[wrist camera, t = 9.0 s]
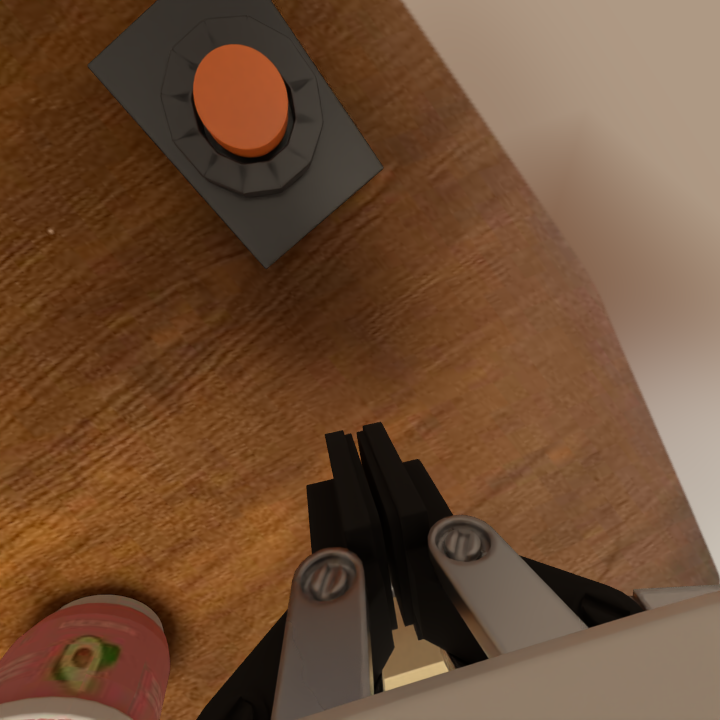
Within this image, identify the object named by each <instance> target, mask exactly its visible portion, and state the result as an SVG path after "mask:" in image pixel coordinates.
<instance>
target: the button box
mask: <svg viewBox="0 0 720 720" xmlns="http://www.w3.org/2000/svg"><path fill="white" fill-rule="evenodd" d="M229 44H239V45H245V46H248V47H251V48H253V49H255V50H257V51H259V52H260V53H262V54H263V55H264V56H266V57H267V58H268V59H269V60H270V61H271V62H272V63H273V64H274V66H275V67H276V68H277V70H278V71H279V73H280V75H281V77H282V79H283V81H284V84H285V87H286V91H287V96H288V123H287V128H286V132H285V134H284V137H283V139H282V140H281V142H280V143H279V145H278V146H277V147H276V148H275V149H274V150H272V151H271V152H269V153H268V154H266V155H263V156H260V157H255V158H247V157H241V156H237V155H235V154H233V153H231V152H229V151H227V150H226V149H224V148H223V147H222V146H221V145H219V144H218V143H217V141H216V140H215V139H214V138H213V136H212V135H211V134H210V132H209V131H208V130H207V128H206V127H205V125H204V124H203V122H202V120H201V119H200V117H199V115H198V112H197V109H196V106H195V102H194V97H193V83H194V77H195V74H196V71H197V68H198V66H199V64H200V63H201V61H202V60H203V58H204V57H205V56H206V55H207V54H208V53H210V52H211V51H212V50H214V49H216V48H218V47H221V46H223V45H229ZM88 68H89V69H90V70H91V71H92V72H93V73H94V75H95V76H96V77H97V78H98V79H99V80H100V81H101V82H102V84H103V85H104V86H105V87H106V88H107V89H108V90H109V92H110V93H111V94H112V95H113V96H114V97H115V98H116V100H117V101H118V102H119V103H120V104H121V105H122V106H123V108H124V109H125V110H126V111H127V112H128V113H129V114H130V115H131V117H132V118H133V119H134V120H135V121H136V122H137V123H138V125H139V126H140V127H141V128H142V129H143V130H144V131H145V133H146V134H147V135H148V136H149V137H150V138H151V139H152V140H153V142H154V143H155V144H156V145H157V146H158V147H159V148H160V150H161V151H162V152H163V153H164V154H165V155H166V156H167V158H168V159H169V160H170V161H171V162H172V163H173V164H174V165H175V167H176V168H177V169H178V170H179V171H180V172H181V173H182V175H183V176H184V177H185V178H186V179H187V180H188V181H189V183H190V184H191V185H192V186H193V187H194V188H195V189H196V191H197V192H198V193H199V194H200V195H201V196H202V197H203V198H204V200H205V201H206V202H207V203H208V204H209V205H210V206H211V208H212V209H213V210H214V211H215V212H216V213H217V214H218V216H219V217H220V218H221V219H222V220H223V221H224V222H225V223H226V225H227V226H228V227H229V228H230V229H231V230H232V231H233V233H234V234H235V235H236V236H237V237H238V238H239V239H240V241H241V242H242V243H243V244H244V245H245V246H246V247H247V248H248V250H249V251H250V252H251V253H252V254H253V255H254V256H255V258H256V259H257V260H258V261H259V262H260V263H261V264H262V266H263V267H264V268H265V269H267V268H268V267H270V266H271V265H272V264H273V263H274V262H275V261H276V260H278V259H279V258H280V257H281V256H282V255H283V254H285V253H286V252H287V251H288V250H289V249H290V248H292V247H293V246H294V245H295V244H296V243H297V242H299V241H300V240H301V239H302V238H303V237H304V236H306V235H307V234H308V233H309V232H310V231H311V230H313V229H314V228H315V227H316V226H317V225H318V224H320V223H321V222H322V221H323V220H324V219H325V218H327V217H328V216H329V215H330V214H331V213H332V212H333V211H335V210H336V209H337V208H338V207H339V206H340V205H342V204H343V203H344V202H345V201H346V200H347V199H349V198H350V197H351V196H352V195H353V194H354V193H356V192H357V191H358V190H359V189H360V188H361V187H363V186H364V185H365V184H366V183H367V182H368V181H370V180H371V179H372V178H373V177H374V176H375V175H377V174H378V173H379V172H380V171H381V170H382V169H383V166H382V164H381V163H380V161H379V160H378V158H377V157H376V155H375V154H374V152H373V151H372V149H371V148H370V146H369V145H368V143H367V142H366V140H365V139H364V137H363V136H362V135H361V133H360V132H359V130H358V129H357V127H356V126H355V124H354V123H353V121H352V120H351V118H350V117H349V115H348V114H347V112H346V111H345V109H344V108H343V106H342V105H341V103H340V102H339V100H338V99H337V97H336V96H335V95H334V93H333V92H332V90H331V89H330V87H329V86H328V84H327V83H326V81H325V80H324V78H323V77H322V75H321V74H320V72H319V71H318V69H317V68H316V66H315V65H314V63H313V62H312V60H311V59H310V57H309V56H308V54H307V53H306V52H305V50H304V49H303V47H302V46H301V44H300V43H299V41H298V40H297V38H296V37H295V35H294V34H293V32H292V31H291V29H290V28H289V26H288V25H287V23H286V22H285V20H284V19H283V17H282V16H281V14H280V13H279V11H278V10H277V9H276V7H275V6H274V4H273V3H272V1H271V0H157V1H156V2H155V3H154V4H153V5H152V6H151V7H150V8H148V9H147V10H146V11H145V12H144V13H143V14H142V15H141V16H140V17H139V18H138V19H137V20H136V21H134V22H133V23H132V24H131V25H130V26H129V27H128V28H127V29H126V30H125V31H124V32H123V33H121V34H120V35H119V36H118V37H117V38H116V39H115V40H114V41H113V42H112V43H111V44H110V45H108V46H107V47H106V48H105V49H104V50H103V51H102V52H101V53H100V54H99V55H98V56H97V57H96V58H94V59H93V60H92V61H91V62H90V63H89V64H88Z"/></svg>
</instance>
